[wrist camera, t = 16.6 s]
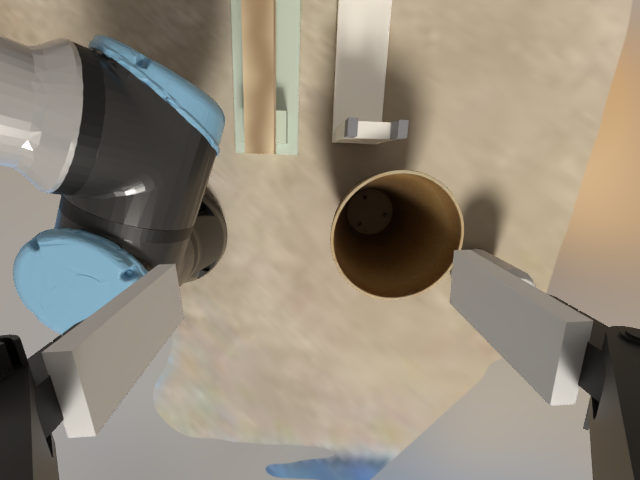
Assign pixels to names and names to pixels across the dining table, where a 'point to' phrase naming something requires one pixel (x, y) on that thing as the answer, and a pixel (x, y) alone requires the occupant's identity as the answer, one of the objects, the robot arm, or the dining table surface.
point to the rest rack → (285, 75)
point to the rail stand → (362, 74)
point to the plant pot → (396, 234)
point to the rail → (259, 75)
